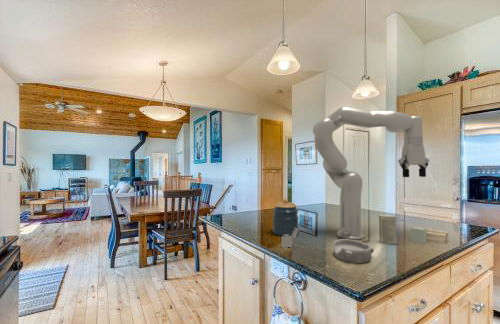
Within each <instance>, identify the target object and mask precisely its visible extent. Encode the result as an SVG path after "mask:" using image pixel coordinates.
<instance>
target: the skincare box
mask: <svg viewBox="0 0 500 324" xmlns="http://www.w3.org/2000/svg"><path fill="white" fill-rule="evenodd" d="M396 218H397V217H396V216H395V215H394V214H378V222H379V223H378V229H379V230H378V231H379V242H380V244H387V245H397V221H396V220H397V219H396Z"/></svg>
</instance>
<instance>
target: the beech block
mask: <svg viewBox="0 0 500 324" xmlns="http://www.w3.org/2000/svg"><path fill="white" fill-rule="evenodd" d="M426 230H427V241H429V242H431V243H432V242H434V243H438V244H444V245H446V243H448V241H449V232H448V231H441V230H438V229H437V230H436V229H430V228H426ZM427 241H426V242H427Z"/></svg>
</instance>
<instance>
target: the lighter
mask: <svg viewBox="0 0 500 324" xmlns="http://www.w3.org/2000/svg"><path fill="white" fill-rule="evenodd" d="M299 230H300V229H299V228H298V229H297V228H294V230H293V232H292V234H291V236H289V234H285V235H284V236H281V237H280V239H281V244H280V245H281V246H280V247H281V249H289V248H288V247H292V248H293V239H296V236H297V235H298V234H297V232H298V233H299ZM286 247H287V248H286Z"/></svg>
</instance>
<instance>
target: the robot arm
mask: <svg viewBox="0 0 500 324" xmlns="http://www.w3.org/2000/svg"><path fill="white" fill-rule="evenodd" d="M344 125H348V126H355V127H360V128H364V129H365V128H366V129H367V128H368V129H369V128H370V129H371V128H379V127H382V128H383V127H384V128H385V130H386V131H387V132H389V133H401V132H403V136H404V137H403V138H404V144H402V148H401V158H399V159H398V160H397V162H398V164H399V166H400V167H401V169H402V178H409V177H410V168H409V167H410V166H418V167H419V169H418V176H419V177H420V178H425V177H426V176H427V171H426V170H427V168H428V166H429V162H430V159H428V158H427V157H426V152H425V150H426V149H425V145H424V140H423V139H424V138H423V117H422V116H420V115H410V114H407V113H406V112H405V113H404V112H399V111H392V110H370V109H364V108H357V107H352V106H341V107H339V108H337V109H336V110H335V111H333V112H332V113H331V114H329V115H328V116H326V117H325V118H322V119H321V120H319V121H318V122H317V123H315V124H314V125H313V128H312V133H313V135H314V144H315V148H316V150H317V152H318V153H319V155H320V156H321V158H322V166H323V169H324V171H325V172H326V174H327V175H328V176H329V178H330V179H331V181H332V182H333V183H334V185H335V186H337V187H338V189H340V194H339V230H337V232H336V236H337V237H339V238H341V239H350V240H356V241H358V240H363V239H365V238H366V237H365V236H366V235H365V234H364V233H362V202H361V201H362V190H363V178H362V177H361V174H359V173H358V172H356V171H350V170H348V169H347V167H348V161H347V159H346V157H345V156H344V155H343V153H342V152H341V151H340V149H339V148H338V147H337V145H336V143H335V142H334V139H333V138H334V137H333V133H334V132H335V131H336V130H339V129H340V128H341V127H342V126H344Z"/></svg>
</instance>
